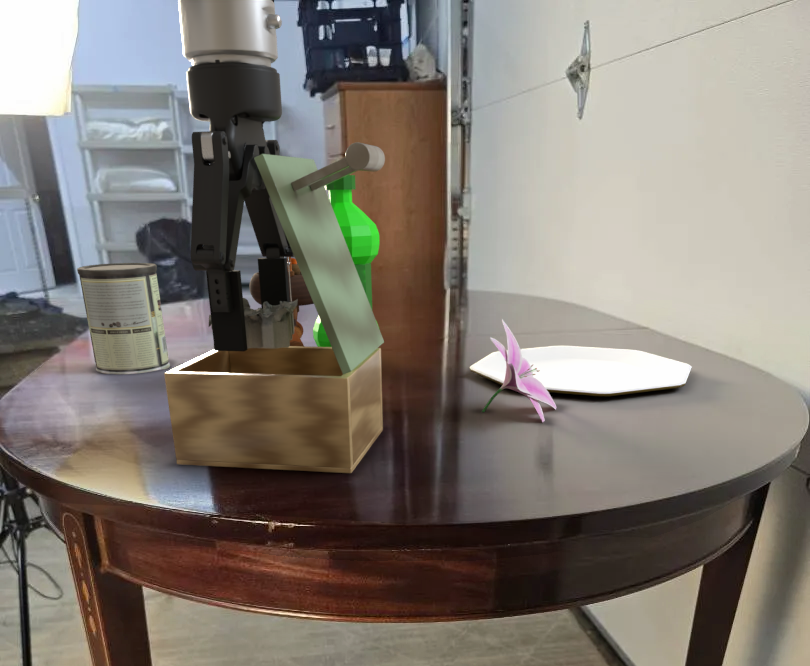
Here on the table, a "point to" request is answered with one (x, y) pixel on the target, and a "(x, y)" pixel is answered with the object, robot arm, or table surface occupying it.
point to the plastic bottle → (351, 240)
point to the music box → (295, 292)
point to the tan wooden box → (275, 409)
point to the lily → (521, 375)
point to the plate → (592, 370)
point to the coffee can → (124, 317)
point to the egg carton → (268, 325)
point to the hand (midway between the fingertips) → (255, 338)
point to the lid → (325, 246)
